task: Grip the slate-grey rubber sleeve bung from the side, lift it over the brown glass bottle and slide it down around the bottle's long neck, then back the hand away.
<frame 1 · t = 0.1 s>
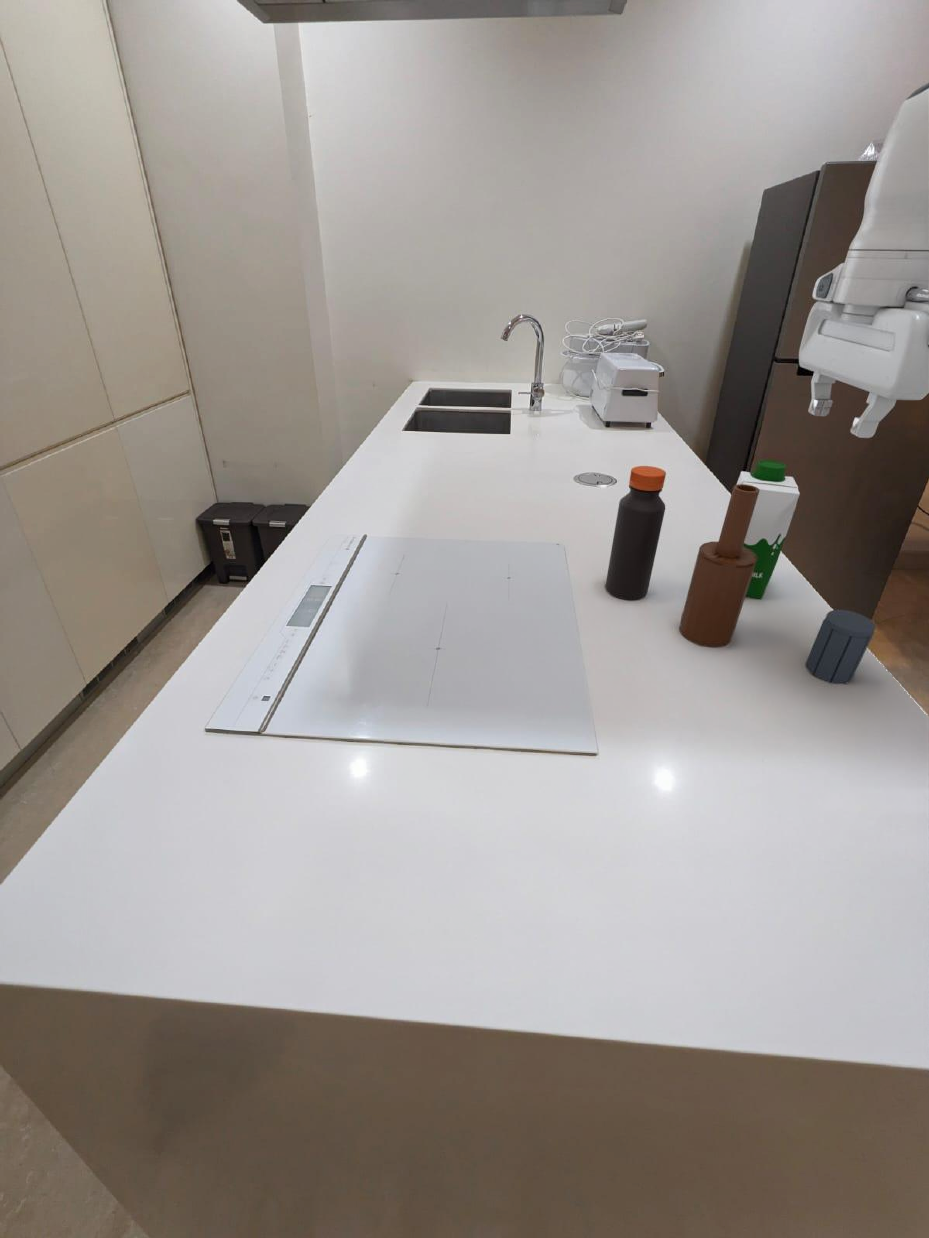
hand: (837, 425, 66), 31 cm above the counter, tool pointing down, fingers open, 8 cm apart
bottle: (704, 633, 85), on the counter
milk carton: (737, 586, 97), on the counter
vinegar: (625, 591, 95), on the counter
bung: (828, 670, 77), on the counter
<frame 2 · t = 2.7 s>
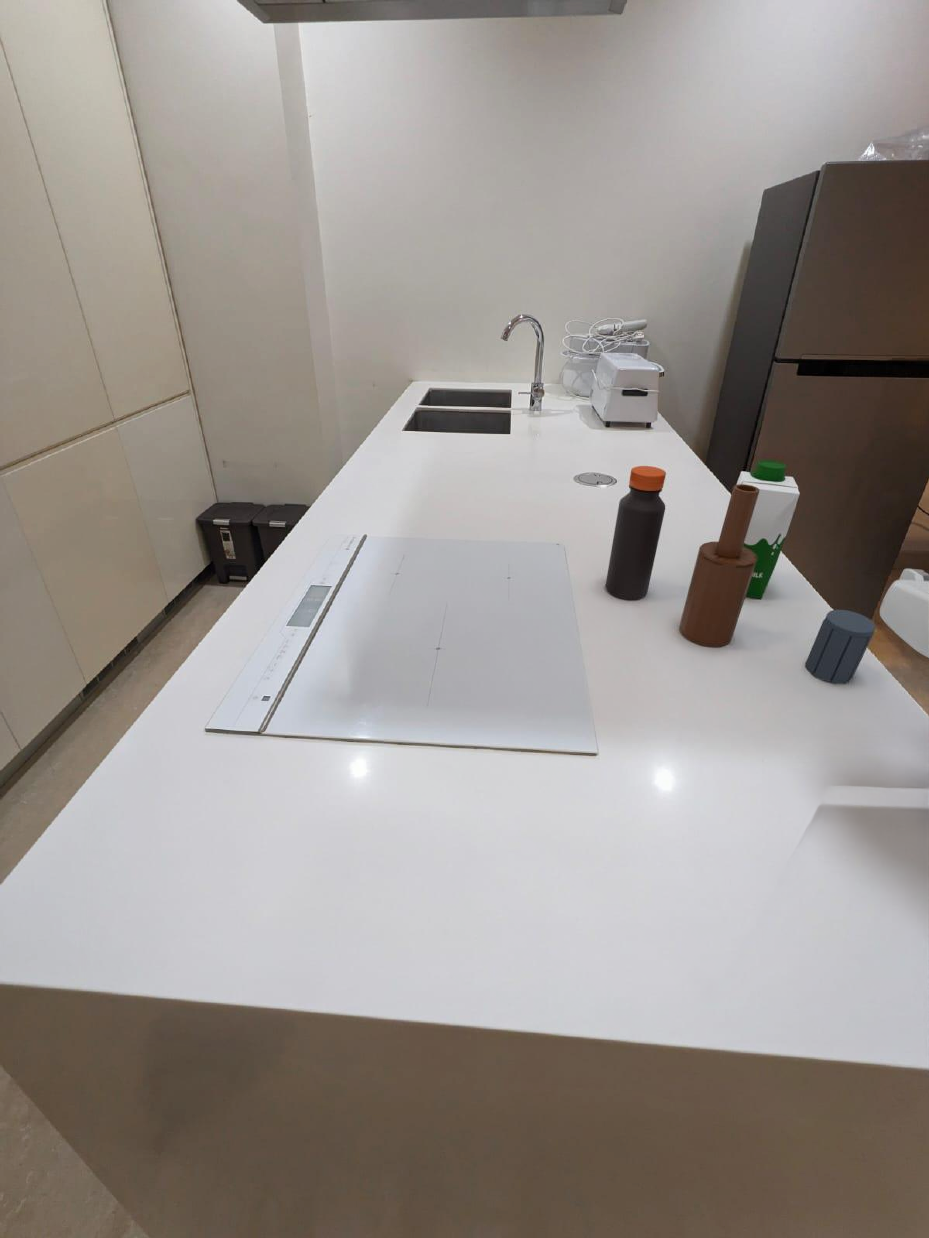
nothing on the counter moved.
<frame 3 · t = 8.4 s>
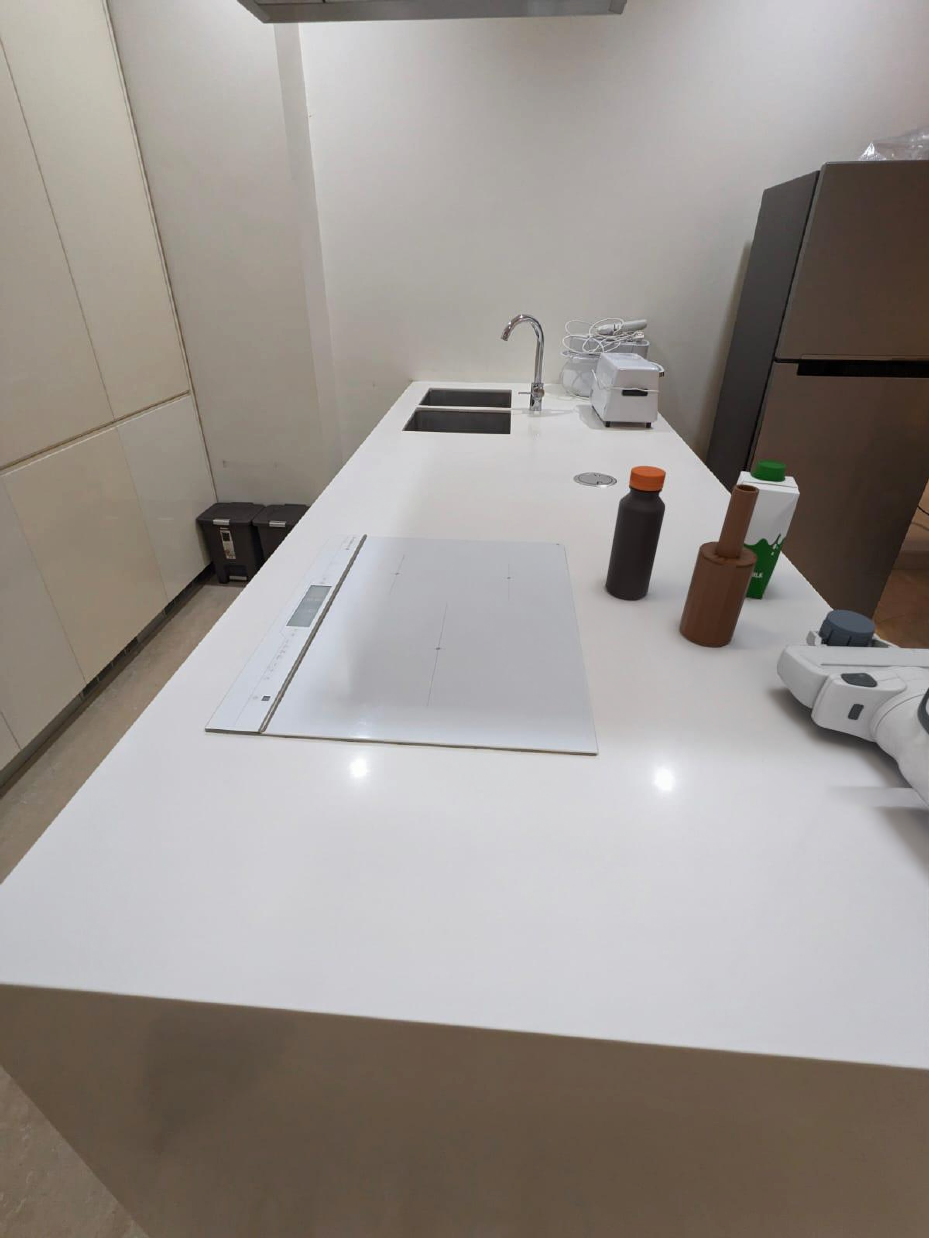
hand: (838, 636, 76), 5 cm above the counter, tool horizontal, fingers closed on bung, 5 cm apart
bung: (828, 670, 77), on the counter, touching gripper
everything else where it was.
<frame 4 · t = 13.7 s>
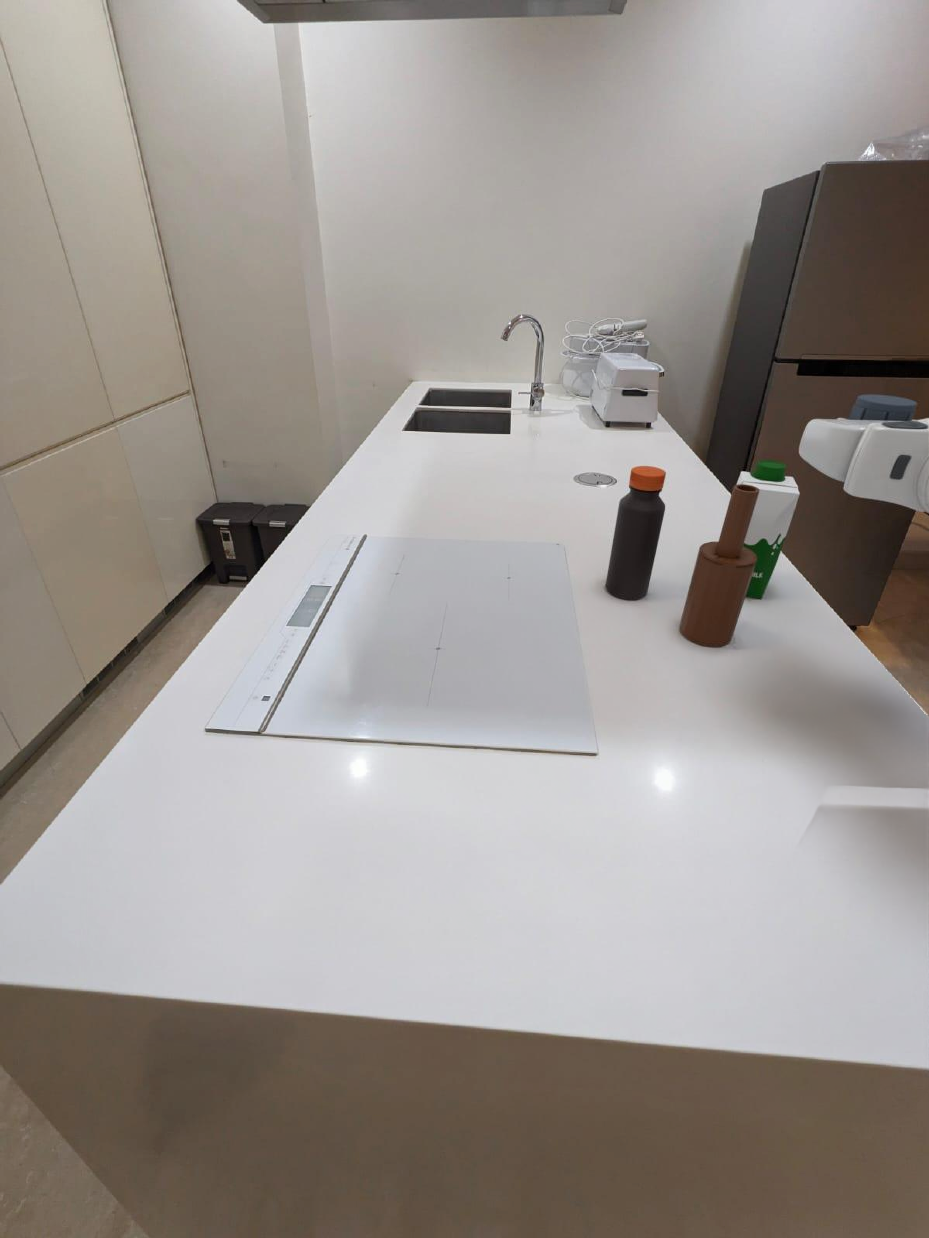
hand: (870, 426, 64), 31 cm above the counter, tool horizontal, fingers closed on bung, 5 cm apart
bung: (858, 473, 66), point 26 cm above the counter, touching gripper
everything else where it was.
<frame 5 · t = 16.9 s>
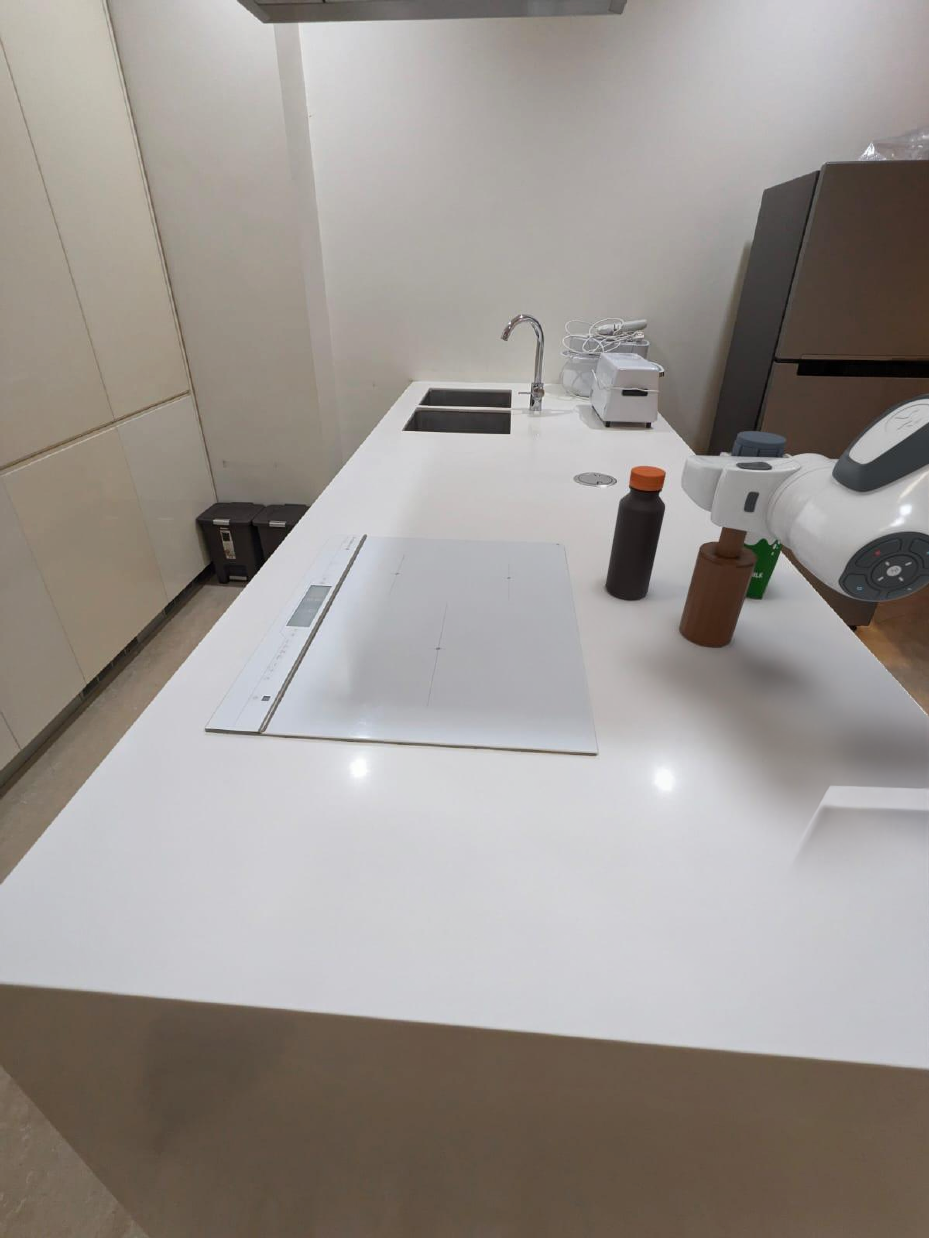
hand: (751, 459, 72), 25 cm above the counter, tool horizontal, fingers closed on bung, 5 cm apart
bung: (743, 500, 74), point 20 cm above the counter, touching gripper
everything else where it was.
when the fingers open (20 cm above the counter, at t = 19.3 s): bung stays where it is, resting on bottle.
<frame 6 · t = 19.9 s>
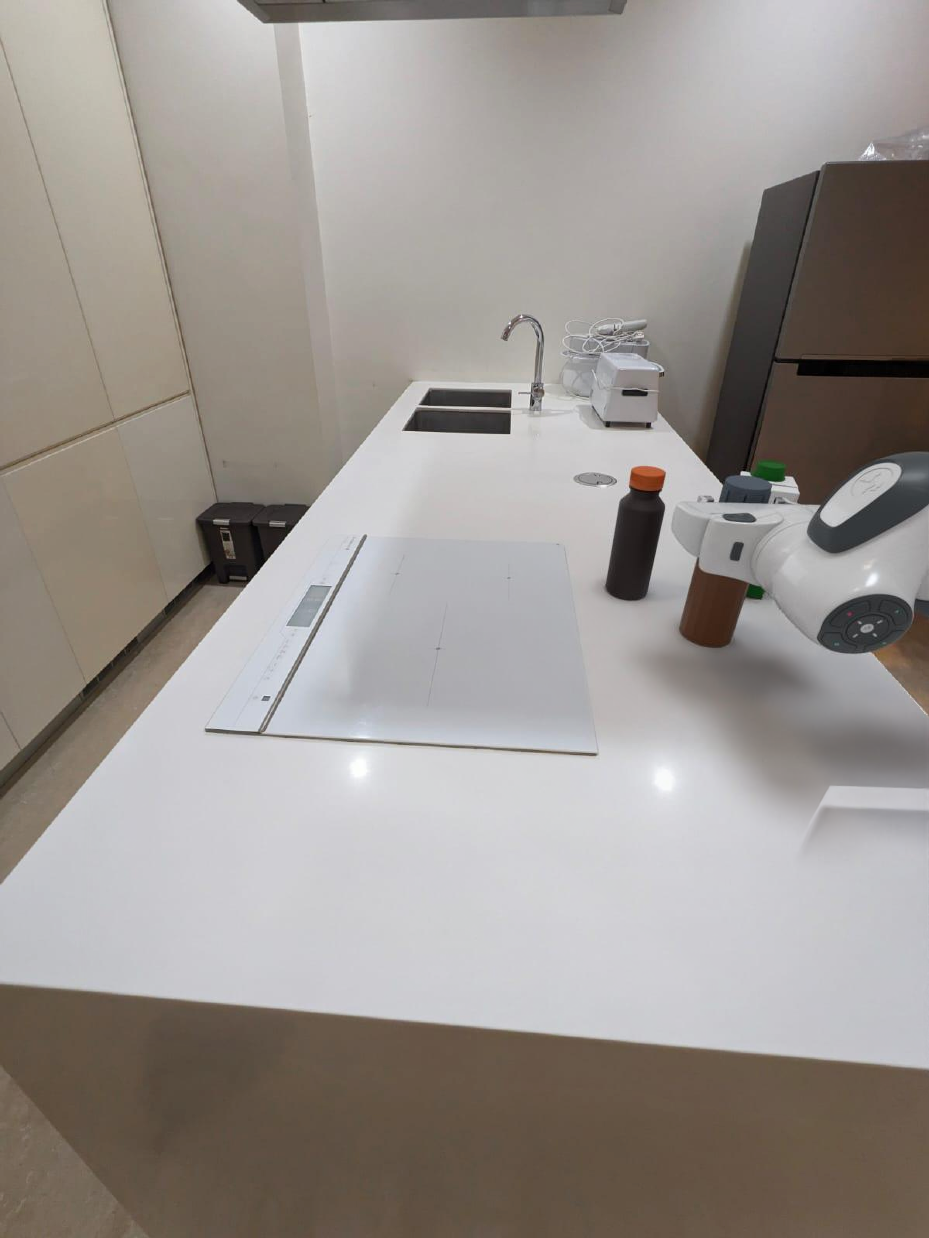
hand: (739, 502, 75), 20 cm above the counter, tool horizontal, fingers open, 8 cm apart
bung: (731, 540, 77), point 15 cm above the counter, touching bottle
everything else where it was.
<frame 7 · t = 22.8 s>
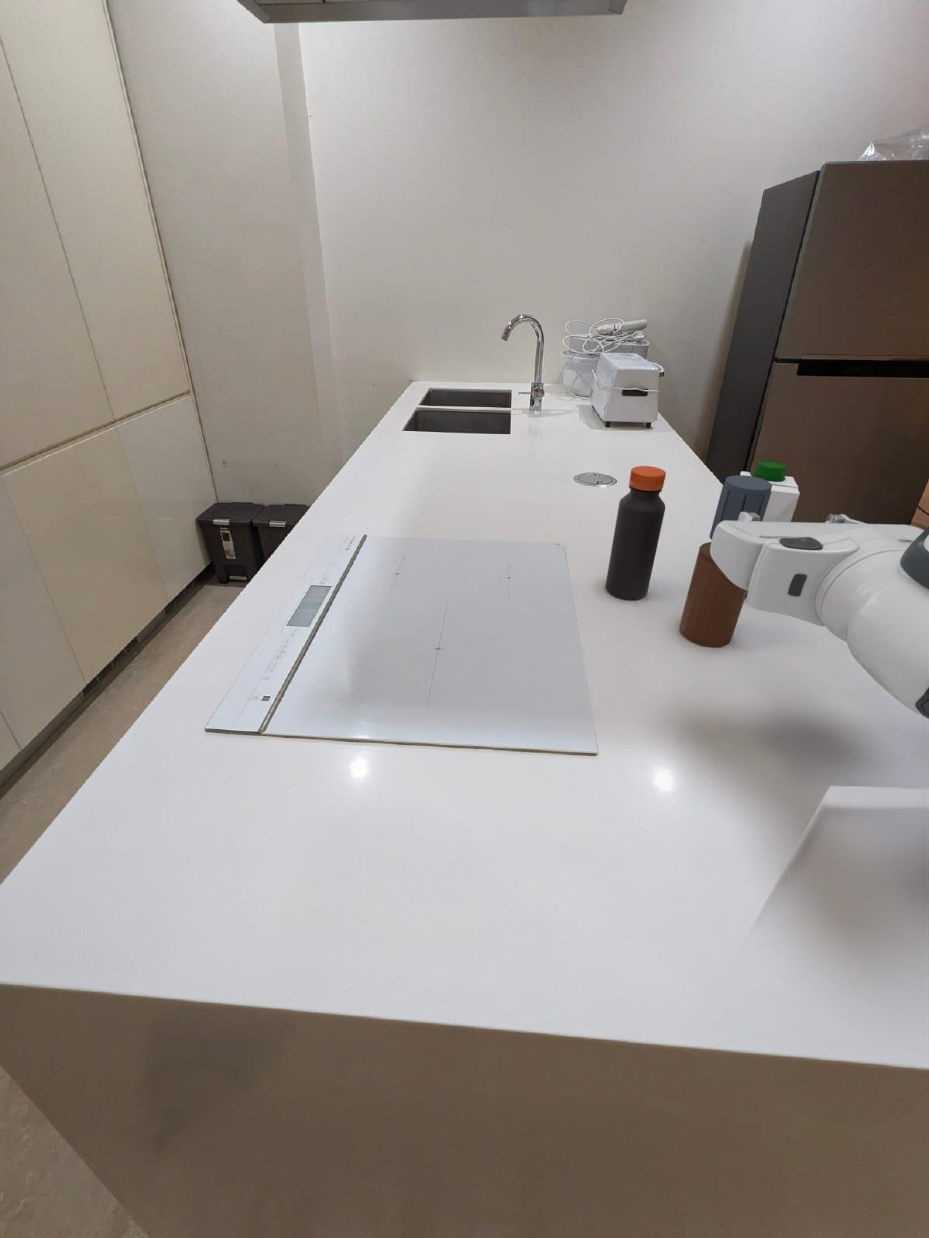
hand: (788, 519, 63), 23 cm above the counter, tool horizontal, fingers open, 8 cm apart
nothing on the counter moved.
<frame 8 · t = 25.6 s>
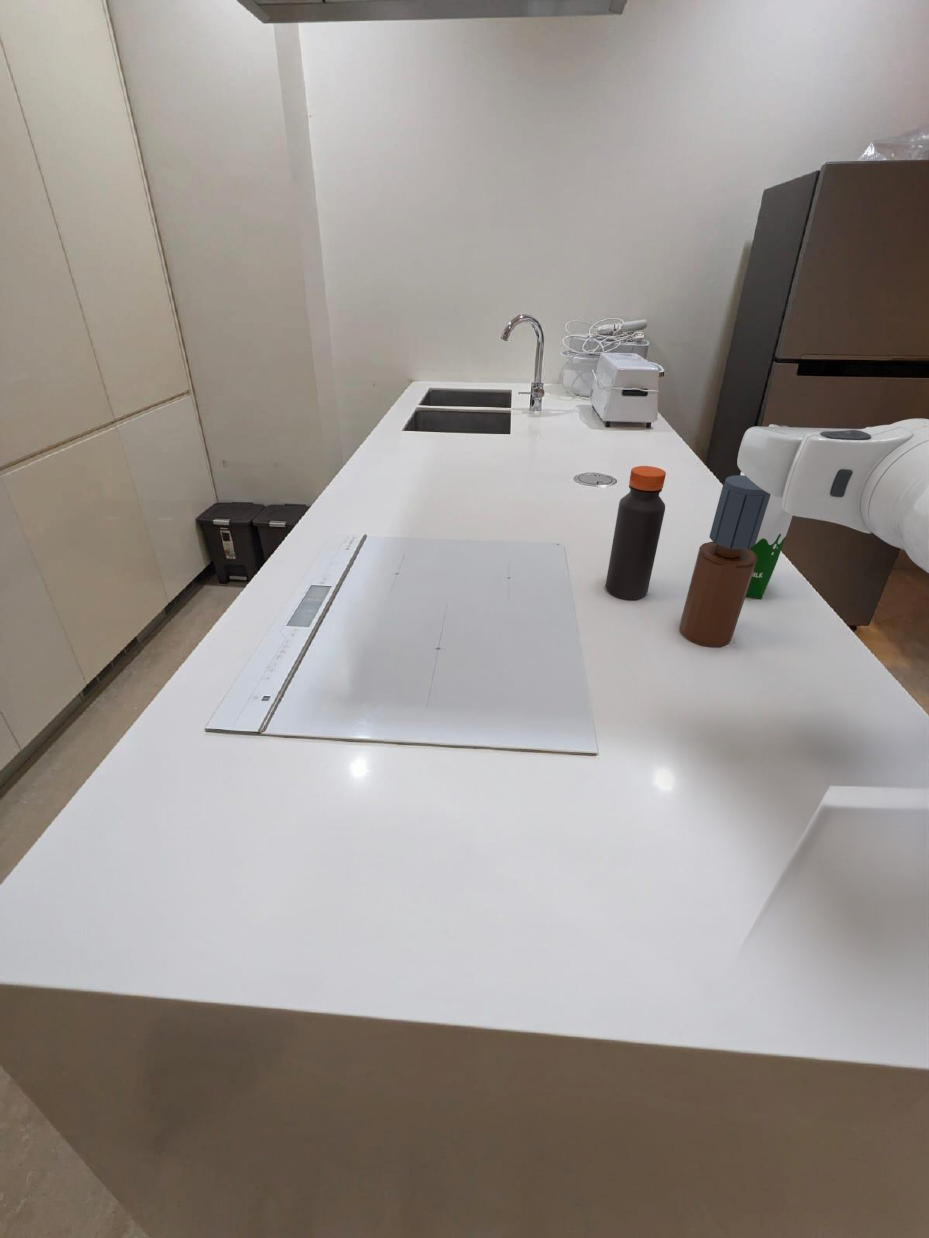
hand: (821, 433, 57), 32 cm above the counter, tool horizontal, fingers open, 8 cm apart
nothing on the counter moved.
at the end: bung 0.0 cm off-centre in the bottle, point 14.8 cm above the bottle's base; bung tilted 0°; the gripper is holding nothing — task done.
